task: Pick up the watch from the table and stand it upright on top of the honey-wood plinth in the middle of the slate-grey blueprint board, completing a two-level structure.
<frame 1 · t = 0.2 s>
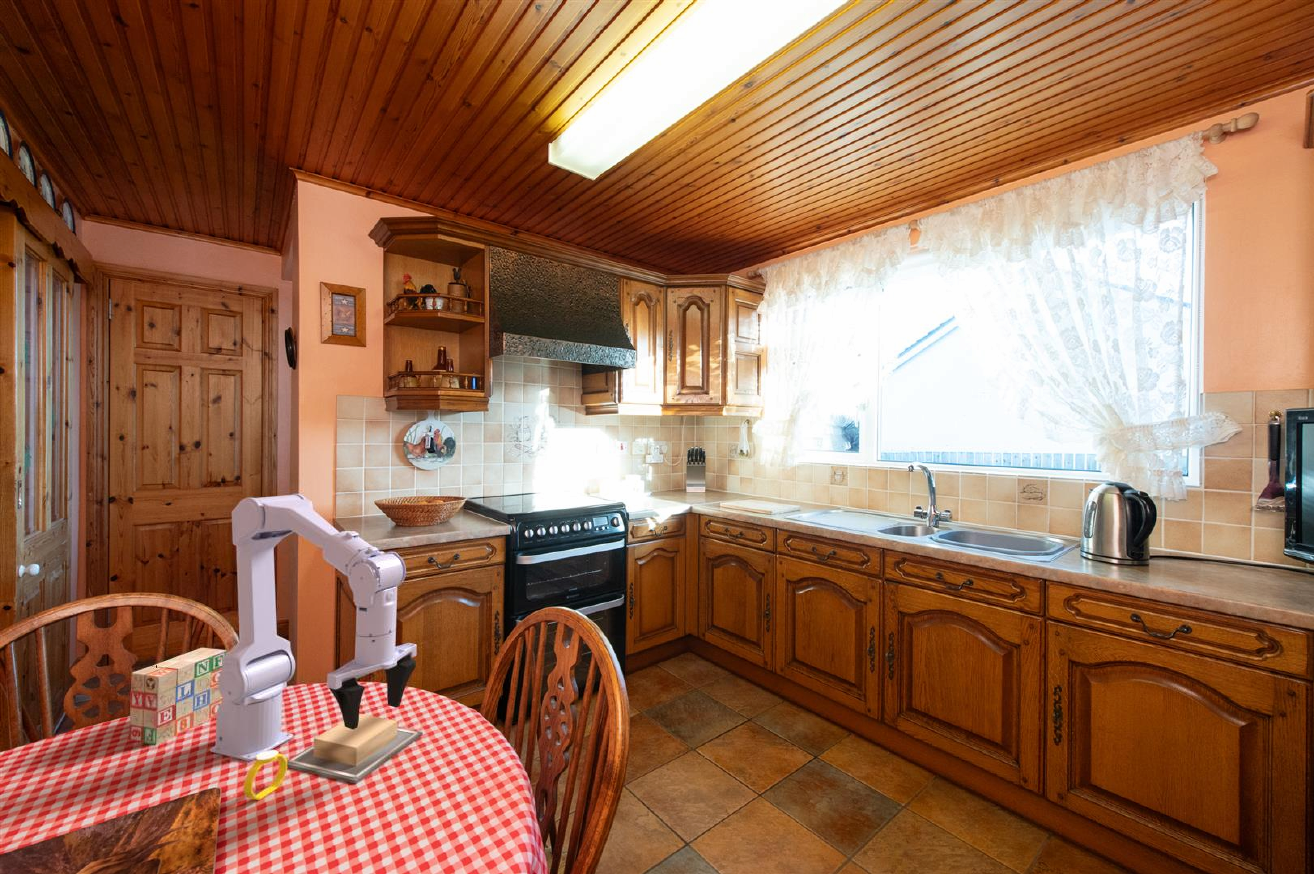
hand: (373, 715, 86), 10 cm above the table, tool pointing down, fingers open, 7 cm apart
watch: (265, 794, 82), on the table
stack of blocks: (204, 715, 105), on the table
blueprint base: (356, 749, 94), on the table
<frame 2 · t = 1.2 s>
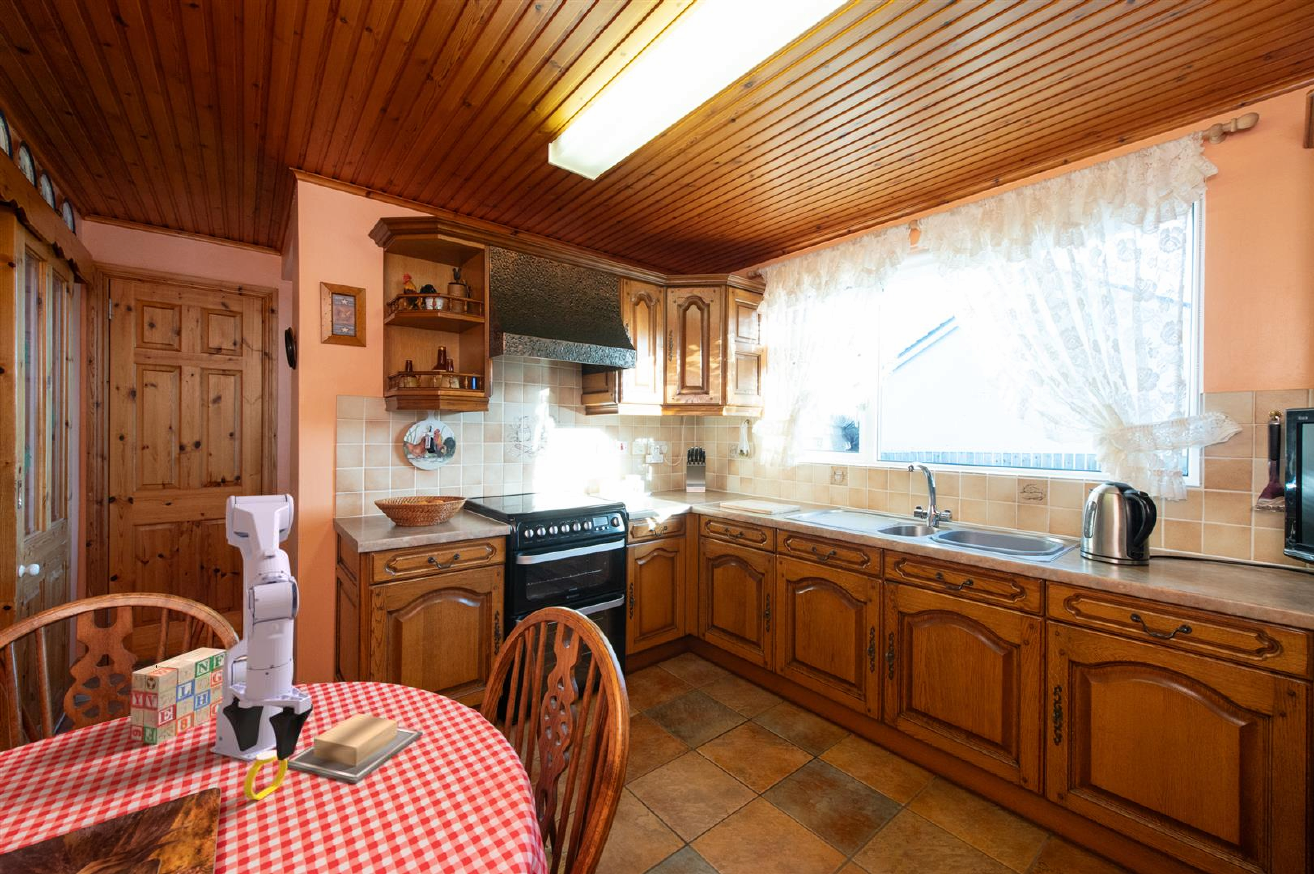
hand: (267, 752, 82), 6 cm above the table, tool pointing down, fingers open, 7 cm apart
nothing on the table moved.
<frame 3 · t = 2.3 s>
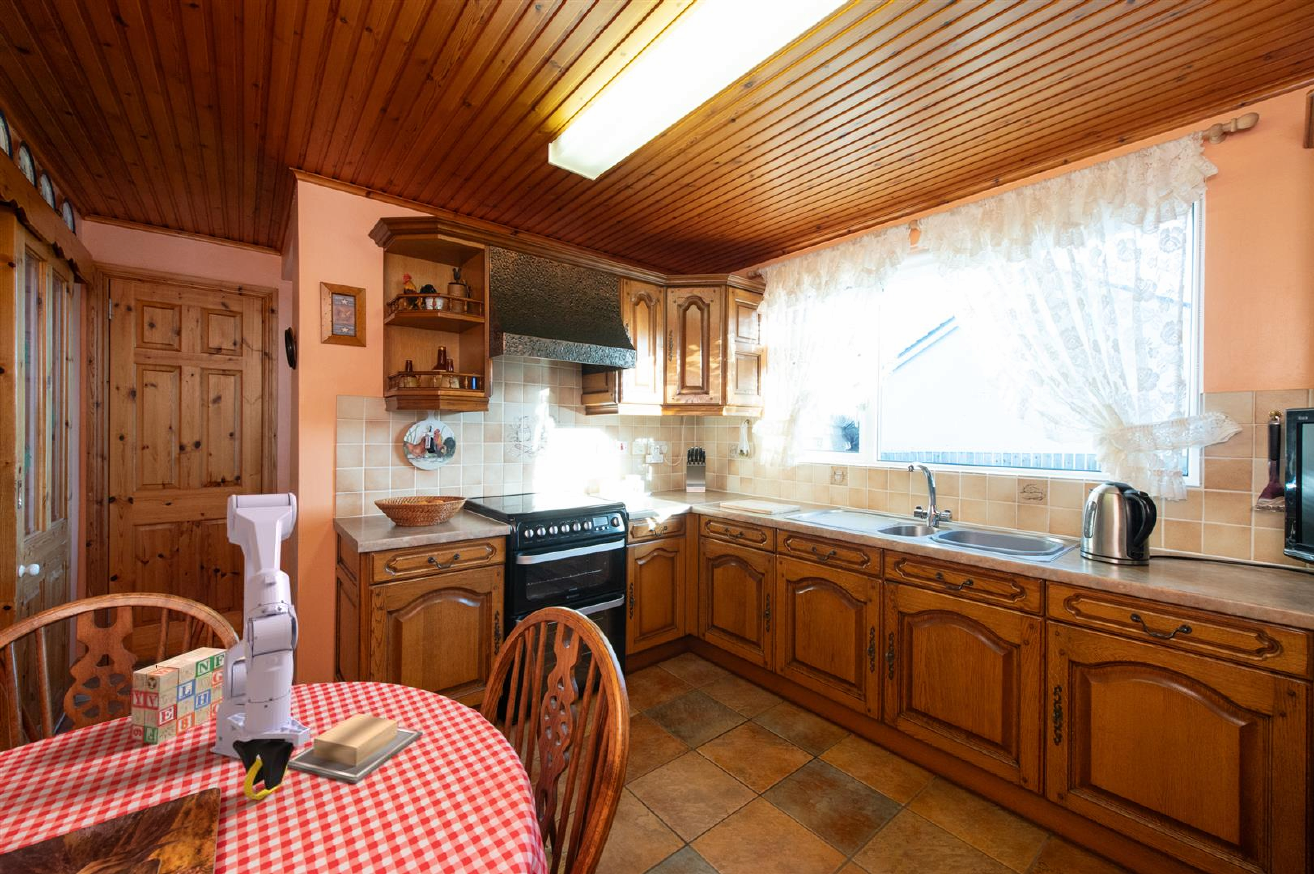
hand: (265, 783, 82), 1 cm above the table, tool pointing down, fingers closed on watch, 3 cm apart
watch: (265, 794, 82), on the table, touching gripper
everything else where it was.
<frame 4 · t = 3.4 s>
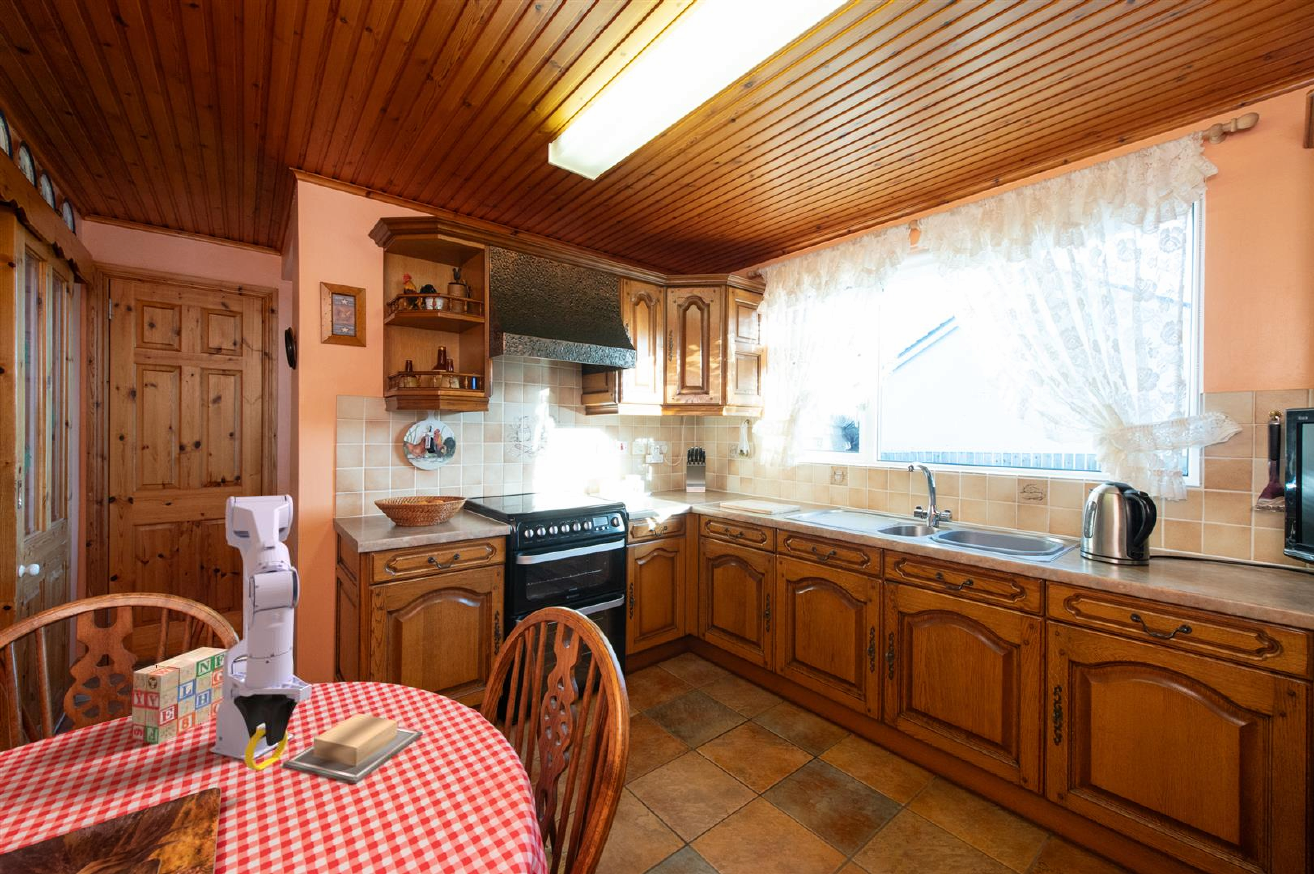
hand: (267, 740, 82), 8 cm above the table, tool pointing down, fingers closed on watch, 3 cm apart
watch: (266, 765, 82), point 4 cm above the table, touching gripper
everything else where it was.
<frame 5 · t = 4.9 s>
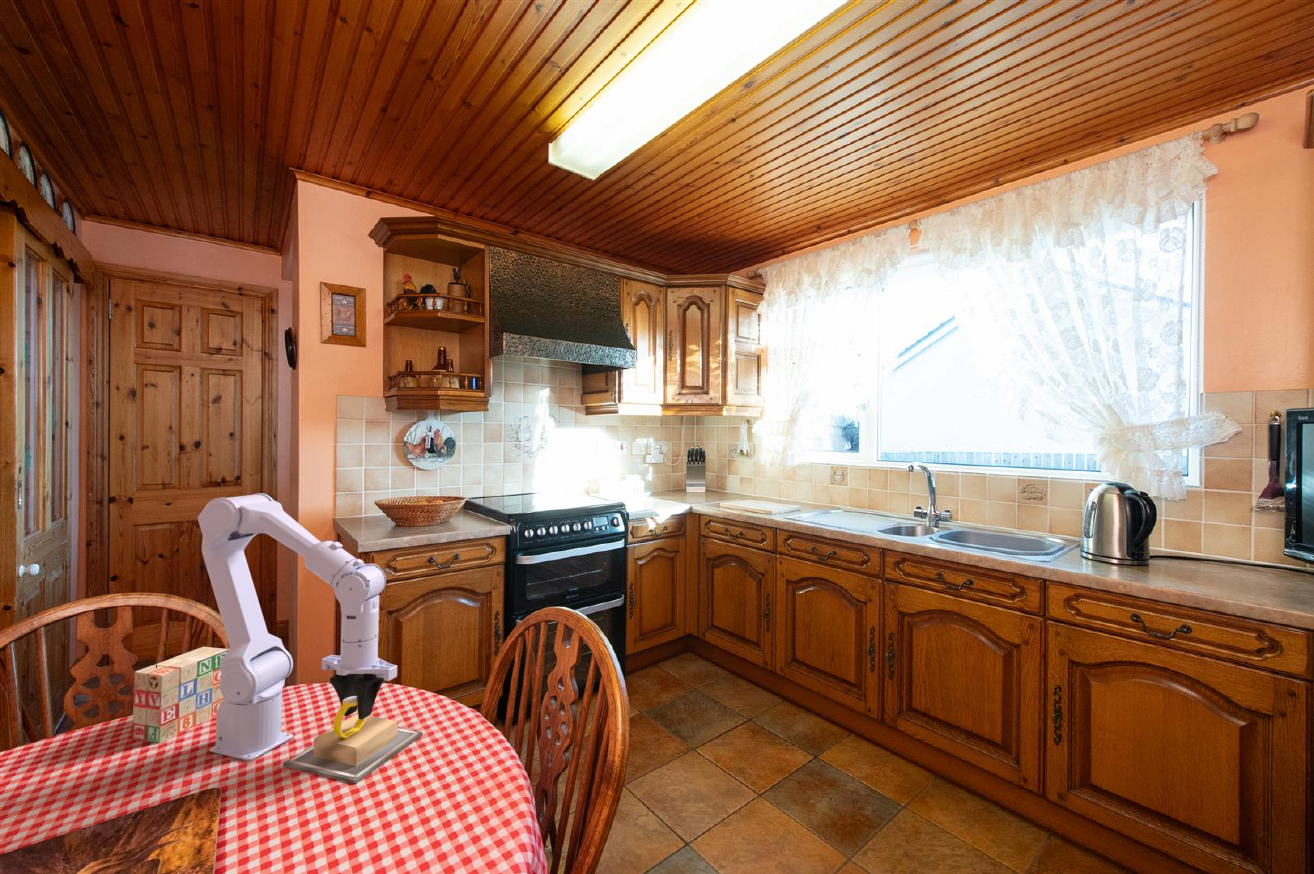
hand: (357, 714, 94), 6 cm above the table, tool pointing down, fingers closed on watch, 3 cm apart
watch: (350, 734, 92), point 3 cm above the table, touching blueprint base, gripper
everything else where it was.
when the fingers open (6 cm above the table, at t = 5.1 s): watch stays where it is, resting on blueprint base.
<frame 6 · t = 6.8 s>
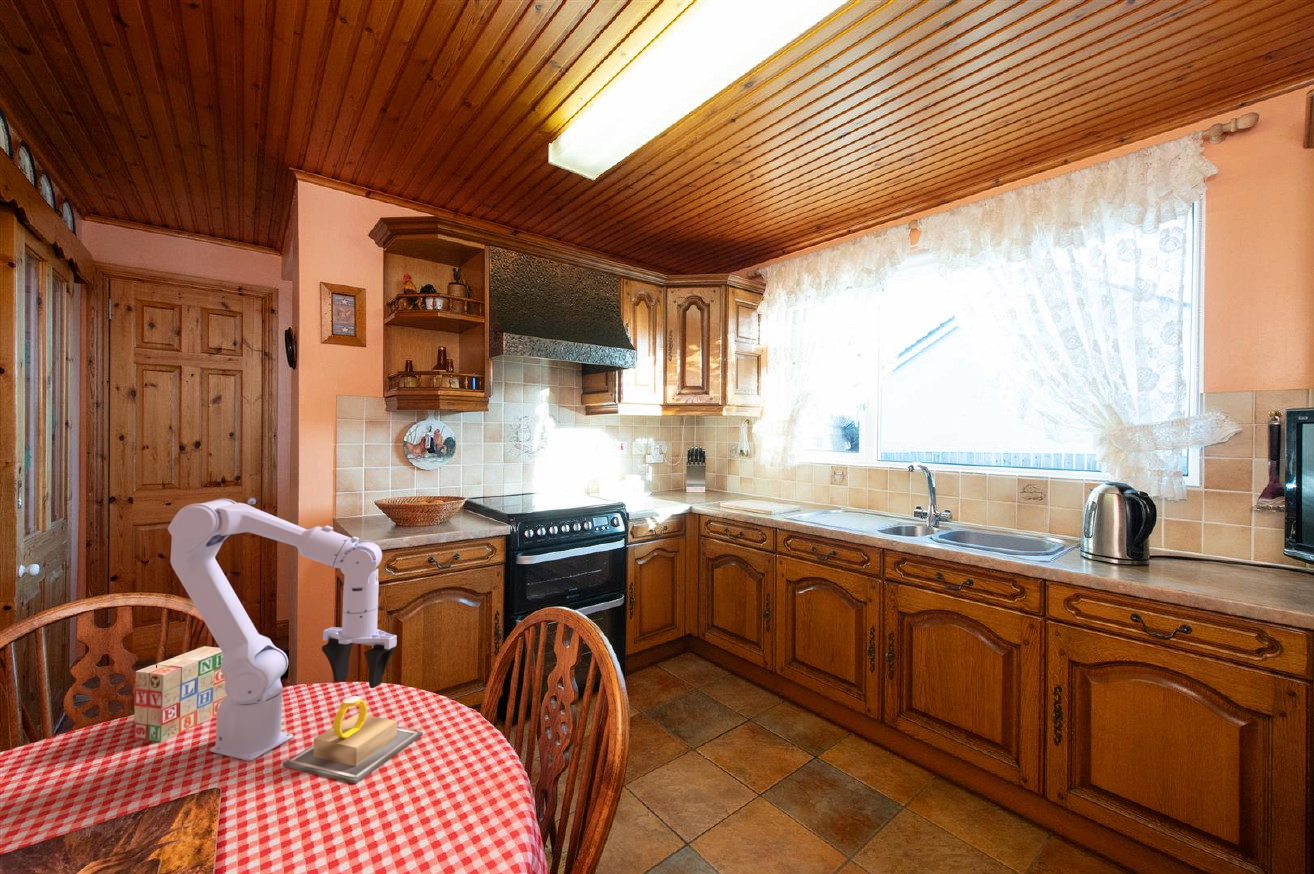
hand: (358, 682, 99), 9 cm above the table, tool pointing down, fingers open, 7 cm apart
watch: (350, 734, 92), point 3 cm above the table, touching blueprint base
everything else where it was.
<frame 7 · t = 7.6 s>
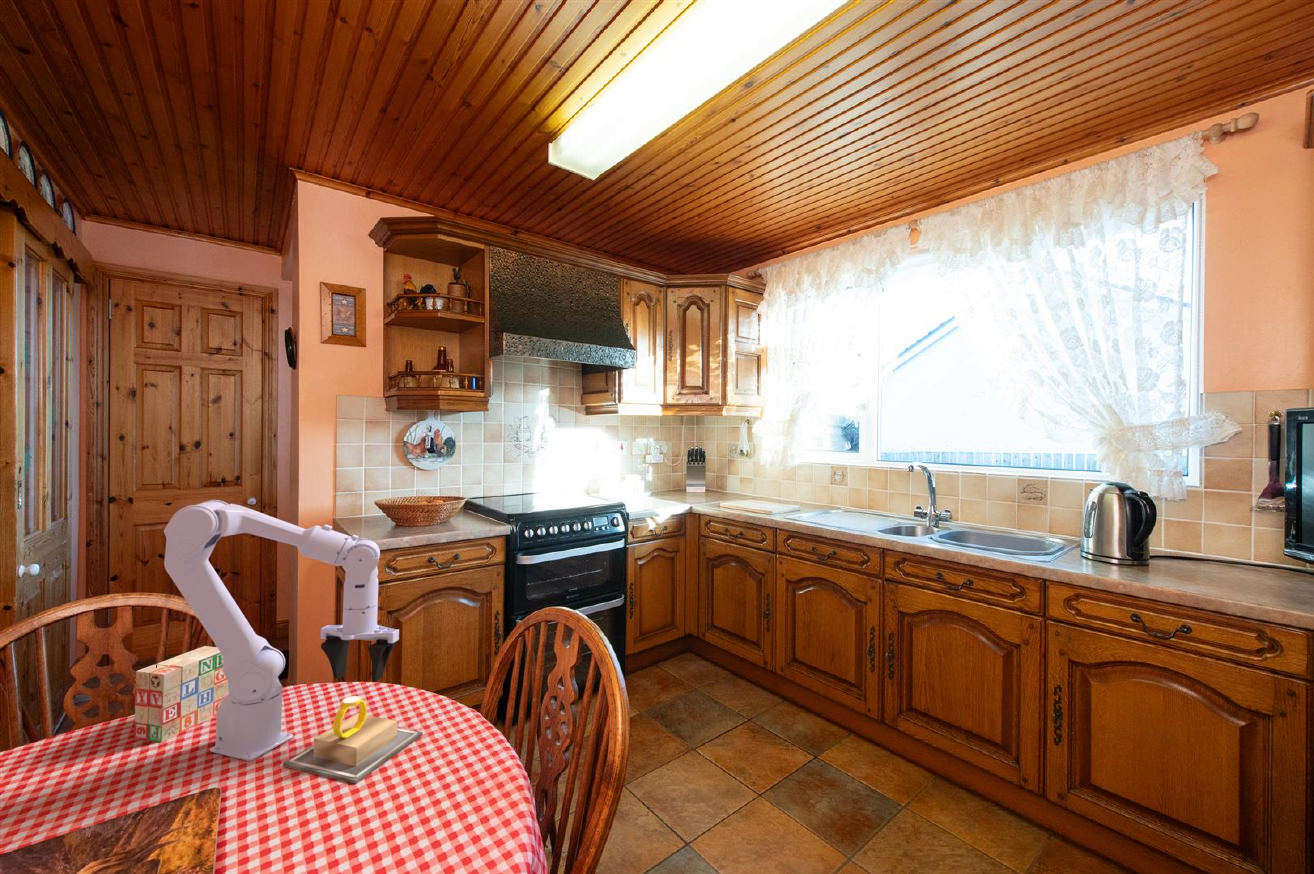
hand: (358, 678, 101), 9 cm above the table, tool pointing down, fingers open, 7 cm apart
nothing on the table moved.
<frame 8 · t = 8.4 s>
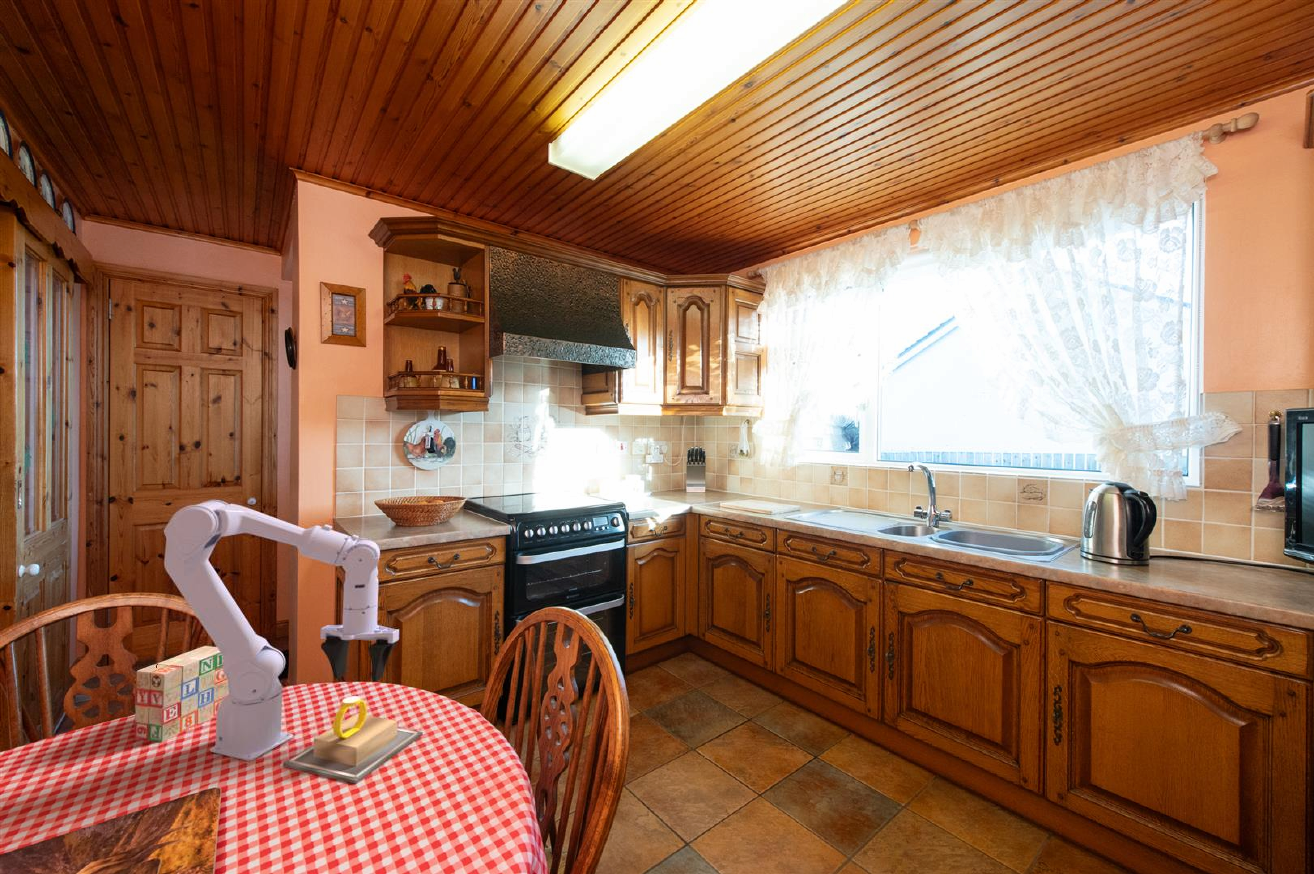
hand: (358, 678, 101), 9 cm above the table, tool pointing down, fingers open, 7 cm apart
at the end: watch 1.5 cm off-centre on the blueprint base, point 3.3 cm above the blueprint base's base; watch tilted 0°; the gripper is holding nothing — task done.
